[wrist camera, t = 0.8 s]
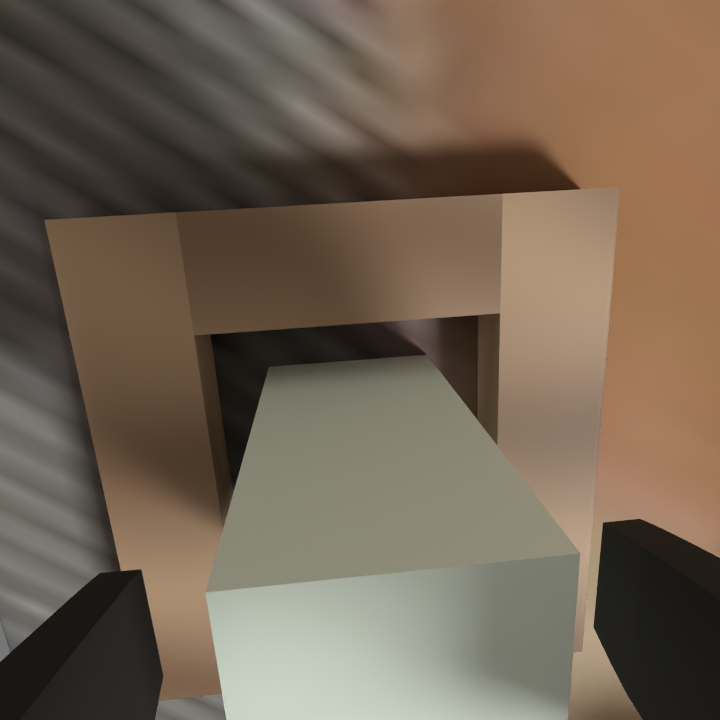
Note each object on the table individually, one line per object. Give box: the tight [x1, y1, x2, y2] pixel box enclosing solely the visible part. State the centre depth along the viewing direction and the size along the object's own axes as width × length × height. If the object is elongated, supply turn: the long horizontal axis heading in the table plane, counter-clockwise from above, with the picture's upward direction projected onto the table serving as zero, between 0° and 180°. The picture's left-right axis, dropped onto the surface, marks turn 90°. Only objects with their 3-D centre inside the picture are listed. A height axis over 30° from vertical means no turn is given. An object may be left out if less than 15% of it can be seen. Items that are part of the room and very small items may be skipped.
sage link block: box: [205, 355, 580, 720], centre depth 10 cm, size 4×4×8 cm
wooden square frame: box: [44, 187, 620, 701], centre depth 13 cm, size 12×12×2 cm
